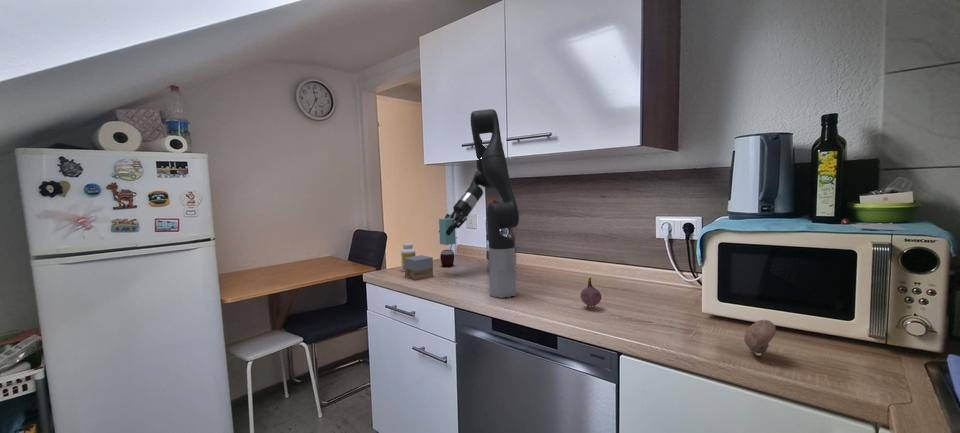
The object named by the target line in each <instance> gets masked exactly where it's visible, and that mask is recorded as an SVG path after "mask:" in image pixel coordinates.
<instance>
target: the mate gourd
mask: <svg viewBox="0 0 960 433" xmlns="http://www.w3.org/2000/svg"><path fill="white" fill-rule="evenodd" d="M458 237H459V236H456V239H458ZM452 247H453V244H450V247H449V249H443V250H441V252H440V255H439V256H440V257H439V258H440V263H441V268H446V267H447V268H451V267H454V266H455V265H454V263H455V252H454V250H453V249H452Z"/></svg>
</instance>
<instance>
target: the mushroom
mask: <svg viewBox="0 0 960 433" xmlns="http://www.w3.org/2000/svg"><path fill="white" fill-rule="evenodd" d="M776 332H777V329H776V325H775V323H773V322H772V321H770V320H768V319H759V320H757V321H756V322H754V323H752V324H751V325H750V326H749V327H748V328H747V329H746V331H745V334H744V340H743V341H744V343H745V344H746V346H747V347H748V348H749V350H750V351H752V352H753V353H754V352H756V353H763V354H764V353H765V352H767V351H768V349H769V345H770V344H769V343H770V342H771V341H772V339H774V337H775V334H776Z"/></svg>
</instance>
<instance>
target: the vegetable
mask: <svg viewBox="0 0 960 433" xmlns="http://www.w3.org/2000/svg"><path fill="white" fill-rule="evenodd" d="M580 299H581V301H582V302H583V304H585V305H586V306H587V307H588V306H591V307H592V306H594V307H596V306H597V305H598V304H600V303H601V301H602V294H601V292H600V291H599V290H598V289H597V288H595V287H594V286H593V284H592V277H591V276H590V277H589V278H588V280H587V287H585V288H583V289H582V290H581V292H580ZM591 307H590V308H591ZM592 308H593V307H592Z"/></svg>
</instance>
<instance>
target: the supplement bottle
mask: <svg viewBox="0 0 960 433" xmlns="http://www.w3.org/2000/svg"><path fill="white" fill-rule="evenodd" d="M402 248H403V249H401V251H400V256H401V271H402V272H404V273H405V268H404V258H407V257H413V256H416V249H414V243H408V242H407V243H403V244H402Z"/></svg>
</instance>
